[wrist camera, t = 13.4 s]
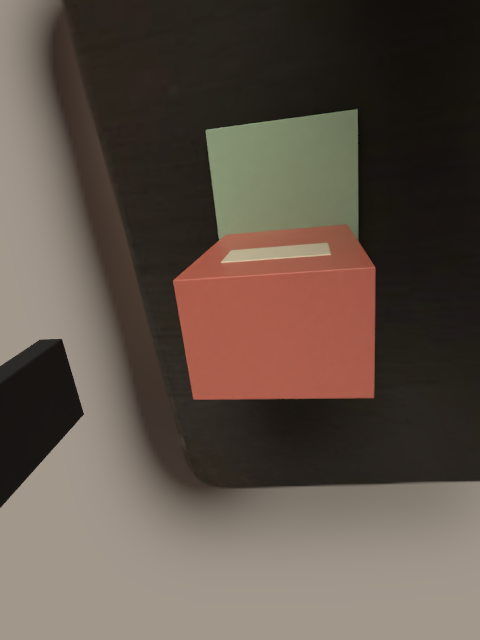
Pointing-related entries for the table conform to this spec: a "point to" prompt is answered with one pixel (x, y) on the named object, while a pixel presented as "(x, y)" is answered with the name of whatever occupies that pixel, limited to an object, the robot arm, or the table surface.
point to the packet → (280, 316)
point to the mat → (286, 173)
